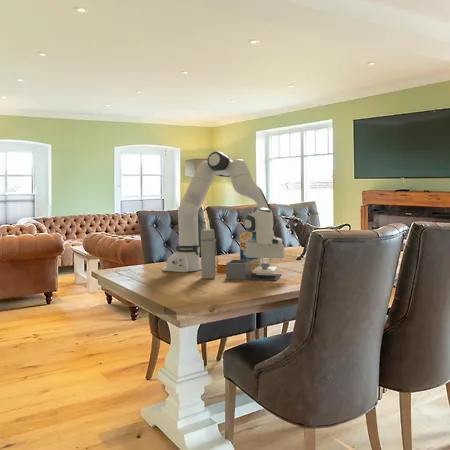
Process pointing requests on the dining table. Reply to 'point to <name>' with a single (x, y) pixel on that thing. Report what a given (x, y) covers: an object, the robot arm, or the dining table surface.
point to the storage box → (238, 269)
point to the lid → (264, 269)
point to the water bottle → (208, 253)
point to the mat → (265, 277)
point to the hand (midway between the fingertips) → (265, 266)
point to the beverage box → (243, 238)
